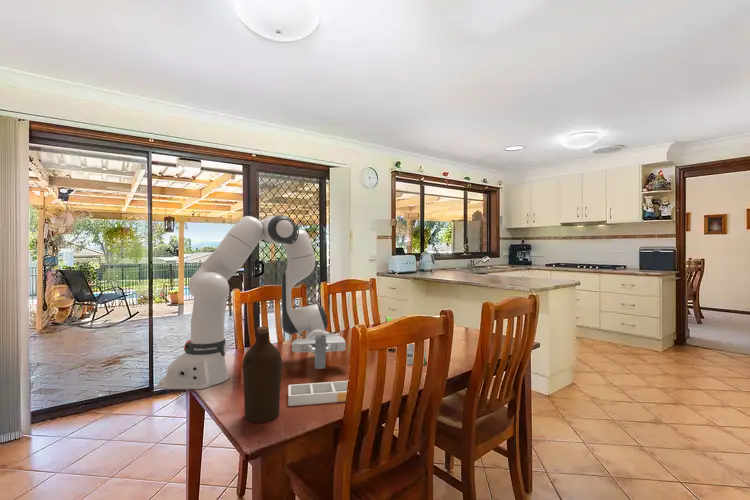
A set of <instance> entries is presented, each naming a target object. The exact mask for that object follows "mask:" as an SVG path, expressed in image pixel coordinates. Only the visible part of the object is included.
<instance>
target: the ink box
mask: <svg viewBox="0 0 750 500" xmlns="http://www.w3.org/2000/svg"><path fill="white" fill-rule="evenodd" d="M426 344H427V340H426V341H425V352H424V364H423V365H426V361H427V360H426V358H427V357H426V355H427V353H426V352H427V349H426V348H427V347H426V346H427V345H426ZM413 354H414V344H409V345H408V347H407V364H406V365H414V364H413Z"/></svg>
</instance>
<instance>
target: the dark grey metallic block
mask: <svg viewBox="0 0 750 500" xmlns="http://www.w3.org/2000/svg"><path fill="white" fill-rule="evenodd" d="M315 348H316V350H315V353H314V368H315V369H316V370H319V369H321V370H322V369H326V355H327V354H326V337H325V335H315Z"/></svg>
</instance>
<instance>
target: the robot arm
mask: <svg viewBox="0 0 750 500" xmlns="http://www.w3.org/2000/svg"><path fill="white" fill-rule="evenodd" d="M260 242H264V243H267V244H275V245H278V244H281V245H282V246H283V248H284V250H285V255H286V261H287V266H286V269H285V271H283V272H282V275H281V311H282V312H281V317H280V325H281V328H282V330H283V331H282V332H284V333H286V334H288V335H295V334H299V333H300V332H303V331H306V332H305V338H296V339H294V340H293V341H291V343H290V345H291V352H292V353H295V354H298V353H311V354H315V350H316V348H315V335H325V337H326V353H330V352H344V351H346V346H347V344H346V342H347V341H346V340H345V338H344V337H343V336H341V335H340V333H339V332H331V331H326V330H327V329H328V326H329V324H328V316H327V314H326V311H325V309H324V307H323V306H322V305H321V304H318V303H315V304H311V305H307V306H302V307H298V308H293V307H292V289H293V288H294V287H295V286H296V284H298V283H299V282H301V281H302V280H304V279H305V278H307V277H308V276H309V275H311V274H312V272H313V271H314V269H315V267H316V261H315V260H316V259H315V258H316V257H315V254H314V253H315V252H314V249H313V245H312V241H311V238H310V236H309V234H308V232H307V231H306V230H304V229H299V228H298V227H297V225H296V224H295V222H294V220H292V219H291V218H290V217H288V216H287V215H281V214H280V215H279V214H278V215H271V216H268V217H265V218H262V219H258V218H257V217H254V216H251V215H246V216H243V217H242V218H241V219H239V220H238V221H237V222H236V223H235V224H234V225H233V226H232V228H231V229H230V230H229V231H228V232H227V234H225V236H224V237H223V238H222V240H221V241H220V243H219V244H218V246H217V247H216V248H215V249H214V251H213V252H212V253H211V254H210V256H209V257H208V258H207V259H206V260H205V261H204V262H203V263H202V264H201V266H199V268H198V269H196V271H195V272H194V273H193V274H192V276H190V279H189V280H188V284H187V285H188V287H187V288H188V291H189V293H190V295H191V296H192V297H193V305H192V313H191V319H190V339H188V340H187V341H185V344H184V345H183V350H184V352H183V353H182V354H181V355H180V356H178V357H177V358H176V359H175V360H173V361H172V362H171V363H170V364H169V365H168V367H167V369H166V372H165V376H164V377H162V378H161V379H160V380H159V382H158V383H157V387H158V390H202V389H203V390H204V389H207V388H209V387H211V386H215V385H219V384H221V383H224V382H225V381H227V380H228V379H229V378H230V376H229V372H228V368H227V364H226V354H227V353H226V352H227V350H226V349H227V343H226V342H227V341H226V338H225V318H226V310H227V306H228V296H229V293H230V284H229V282H228V281H229V280H230V279H231V278H232V277H233V275H235V273H237V272H238V271H239V270H241V268H242V267H243V266H244V264H245V263H246V261H247V260H248V259H249V257H250V255H251V254H252V252H254V250H255V248H256V247H257V245H258V244H260Z"/></svg>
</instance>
